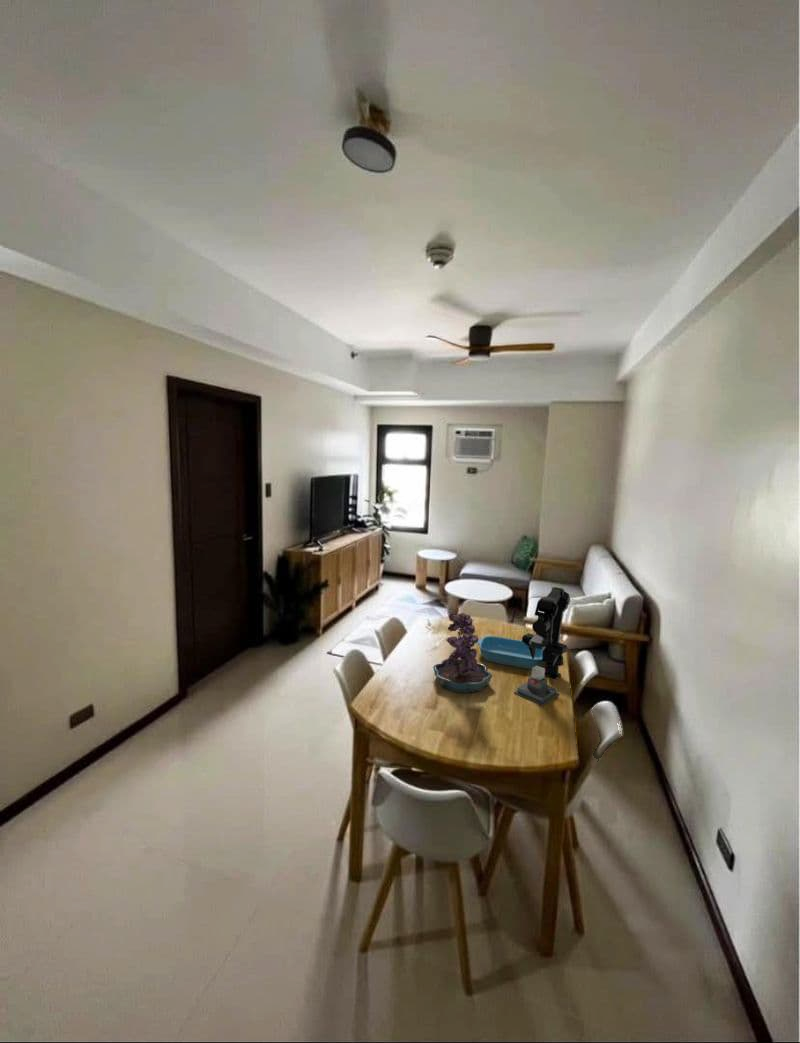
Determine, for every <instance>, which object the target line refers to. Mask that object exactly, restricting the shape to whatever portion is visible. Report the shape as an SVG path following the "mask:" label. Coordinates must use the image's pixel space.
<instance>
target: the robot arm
mask: <svg viewBox="0 0 800 1043" xmlns="http://www.w3.org/2000/svg"><path fill="white" fill-rule="evenodd" d="M570 603H571V596H570V594H569V593H568V592H566V590H565V589H564V588H562V587H557V586H553V587H551V590H550V592H549V593H548V594H547V596H543V597H541V598H539V599H538V601H537V603H536V608H535V612H534V616H536V617H537V619H536V620H535V621H534V622H533V623H532V630H533V631H534V632H533V633H535V634H533V633H529V632H528V633H527V634H526V633H525V634H524V635H522V636H521V641H522V642H524V644H526V645H527V646H528V647H529V650H530V653H531V656H532V659H534V657H535V650H536V648H538V649H542V648H543V647H545V648H544V650H543V653H542V660H543V662H544V663H546V664H545V675H544V676H546V677H548V678H551V679H557V678H559V677H560V676H561V675H562V674H561V672H559V669H560V668H559V667H561V666H564V656H563V655H564V654H566V653H567V652H568V645H567V644H565V643H561V642H560V641H561V640H560V639H561V630H562V626H563V618H564V613H565V612H566V610H568V607H569V605H570Z"/></svg>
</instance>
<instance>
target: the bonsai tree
mask: <svg viewBox="0 0 800 1043" xmlns="http://www.w3.org/2000/svg"><path fill="white" fill-rule="evenodd" d="M448 620H449V621H450V622H452V623H450V624H449V626H447V630H448V631H450V632H451V633H453V632H456V631H457V636H448V637H447V638H446V639H445V640H446V642H447V643H448V644H449V645H450V646H451V647H452V648H454V650H453V651H451V652H450V655H448V658H446V659H445V658H444V659H443V660H441V662H440V663H436V664H434V665H433V666H432V668H433V671H434V675H435V678H436V680H437V682H438V684H439V685H441V686H442V687H444V688H446V689H447V690H449V691H453V692H457V693H475V692H478V691H480V690H482V689H483V688H484V687H485V686H486V685H488V684H490V682H491V680H492V677H493V675H492V673H491V672H489V671H488V667H487V665H486V664H484V663H483V664H482V663H480V662H478V659H477V658H476V657H477V653H478V650H477V649H476V648H474V647H475V644H477V642H478V640H479V637H478V635H476V634H474V633H475V632H476V631H475V630H476V627H475V625H473V622H474V619H473V618H472V617H471V615H470V614H466V613H465V612H460V613H459V614H456V615H453V614H452V613H449V614H448Z"/></svg>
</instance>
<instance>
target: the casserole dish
mask: <svg viewBox="0 0 800 1043" xmlns="http://www.w3.org/2000/svg"><path fill="white" fill-rule="evenodd" d="M476 644H477V645H478V646H479V648H480V652H481V653H480V654H481V656H482V657H483V658H484V659H485V660H486V661H488V662H491V663H495V664H500V665H501V664H502V665H506V666H511V667H515V668H521V669H526V670H527V669H528V670H532V668H533V667H535V666H539V667H543V665H544V663H545V662H543V660H542V653H543V650H544V648H545V647H543V648H542V649H538V648H536V650H535V657H534V659H532V656H531V653H530V650H529V647H528V646H527V645H526V644H524V642H522V640H519V639H515V638H514V639H513V638H507V637H501V636H493V635H488V636H485V637H482V638H478V642H477V643H476Z"/></svg>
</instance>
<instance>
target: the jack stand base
mask: <svg viewBox="0 0 800 1043" xmlns="http://www.w3.org/2000/svg"><path fill="white" fill-rule="evenodd" d="M513 694H515V695H517V696H520V697H522V698H525V699H527V700H529V701H531V702H534V703H536V704H538V705H541V706H547V705H548V704H549V703H550V702H552V701H553V700H554V699H555V698H556V697H558V696H559V695H560V692H557V688H555V687H553V686H551V685H548V678H547V677H544V680H543V681H541V682H538V681H536V680H533V679H531V676H529V677H528V678H527V681H526V682H524V683H522V684H521V685H520V686H518V687H517V689H516V690H515V691H514V692H513Z"/></svg>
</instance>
